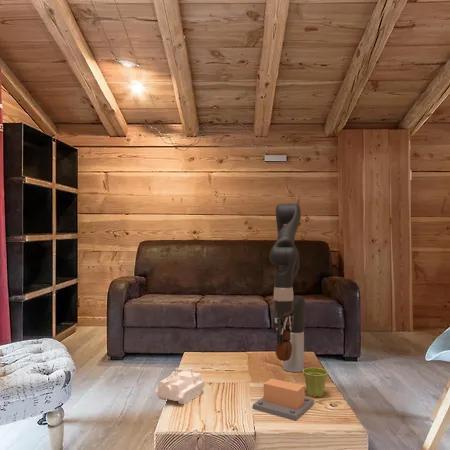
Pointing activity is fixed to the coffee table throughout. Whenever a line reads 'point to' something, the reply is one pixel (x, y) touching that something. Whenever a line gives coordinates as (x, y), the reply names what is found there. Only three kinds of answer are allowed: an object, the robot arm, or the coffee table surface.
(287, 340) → the wooden figurine
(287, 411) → the baseplate
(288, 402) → the brick
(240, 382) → the coffee table surface
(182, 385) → the toy tank
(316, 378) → the plant pot
